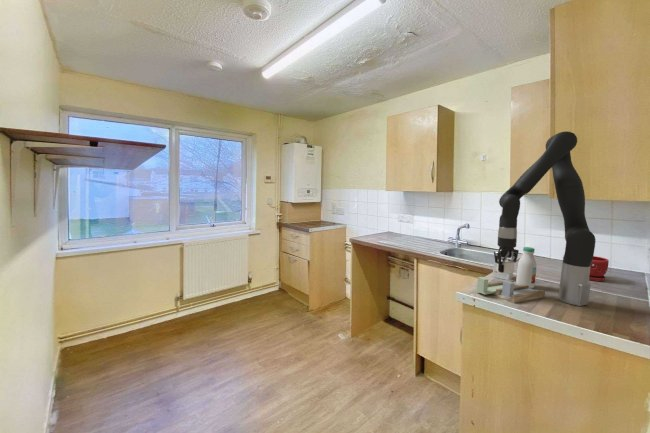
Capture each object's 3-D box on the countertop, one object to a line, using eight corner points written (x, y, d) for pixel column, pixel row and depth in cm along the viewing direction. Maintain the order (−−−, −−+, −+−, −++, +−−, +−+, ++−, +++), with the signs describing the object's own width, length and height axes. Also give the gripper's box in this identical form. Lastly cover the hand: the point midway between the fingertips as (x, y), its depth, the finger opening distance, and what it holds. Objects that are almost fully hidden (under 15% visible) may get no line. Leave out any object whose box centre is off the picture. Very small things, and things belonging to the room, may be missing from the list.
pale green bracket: (513, 289, 136) (515, 276, 135) (484, 294, 129) (485, 280, 128) (504, 286, 140) (505, 272, 140) (475, 290, 134) (476, 276, 133)
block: (513, 272, 133) (514, 262, 133) (506, 273, 132) (507, 263, 131) (503, 269, 138) (504, 259, 138) (496, 270, 136) (497, 260, 136)
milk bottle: (526, 289, 139) (530, 250, 137) (512, 284, 147) (516, 246, 144) (538, 288, 141) (542, 249, 139) (523, 282, 149) (527, 245, 146)
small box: (512, 278, 156) (515, 255, 154) (508, 280, 152) (510, 257, 150) (496, 274, 162) (498, 252, 160) (492, 276, 158) (494, 254, 156)
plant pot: (595, 275, 163) (598, 255, 161) (612, 283, 150) (615, 261, 148) (569, 273, 166) (571, 253, 164) (583, 281, 153) (585, 259, 152)
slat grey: (539, 293, 131) (541, 279, 131) (510, 298, 125) (512, 284, 124) (528, 289, 136) (530, 276, 135) (500, 294, 129) (501, 280, 129)
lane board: (544, 297, 130) (545, 291, 130) (513, 303, 123) (514, 296, 123) (511, 285, 145) (511, 279, 144) (482, 289, 138) (482, 283, 138)
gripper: (504, 239, 127) (501, 275, 129) (525, 236, 132) (523, 272, 134) (489, 236, 134) (487, 271, 136) (510, 234, 139) (508, 267, 141)
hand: (505, 271), depth 135 cm, fingers closed on block, 5 cm apart
